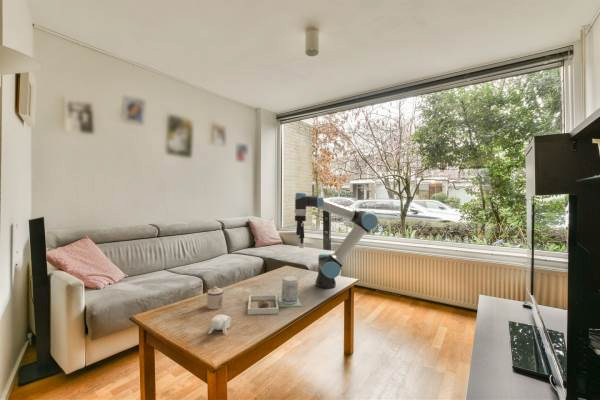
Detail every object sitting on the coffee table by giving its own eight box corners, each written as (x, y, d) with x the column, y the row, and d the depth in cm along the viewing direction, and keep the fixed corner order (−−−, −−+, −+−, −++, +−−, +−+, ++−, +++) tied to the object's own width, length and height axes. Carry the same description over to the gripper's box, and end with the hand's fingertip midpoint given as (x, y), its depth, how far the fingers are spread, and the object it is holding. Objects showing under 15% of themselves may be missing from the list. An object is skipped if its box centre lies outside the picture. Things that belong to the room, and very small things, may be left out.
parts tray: (276, 299, 173) (276, 294, 173) (278, 313, 153) (278, 308, 153) (249, 299, 171) (249, 295, 171) (247, 314, 150) (247, 309, 150)
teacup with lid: (222, 309, 156) (222, 289, 156) (205, 310, 155) (205, 289, 154) (224, 301, 168) (224, 282, 168) (208, 301, 166) (209, 282, 166)
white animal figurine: (214, 331, 137) (203, 335, 123) (217, 313, 140) (206, 314, 126) (231, 333, 136) (221, 336, 122) (233, 314, 139) (224, 315, 125)
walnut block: (266, 308, 159) (266, 300, 159) (268, 312, 154) (268, 303, 154) (258, 309, 158) (258, 300, 158) (259, 313, 153) (259, 304, 153)
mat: (298, 298, 176) (298, 297, 176) (301, 306, 163) (301, 305, 163) (278, 298, 175) (278, 297, 175) (279, 307, 162) (279, 306, 162)
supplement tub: (279, 299, 172) (280, 276, 171) (294, 298, 175) (294, 275, 175) (284, 305, 163) (285, 281, 162) (299, 303, 166) (300, 279, 166)
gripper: (292, 213, 199) (292, 242, 200) (297, 216, 175) (297, 249, 175) (302, 213, 200) (302, 242, 201) (309, 216, 176) (308, 249, 176)
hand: (299, 246), depth 188 cm, fingers open, 13 cm apart
